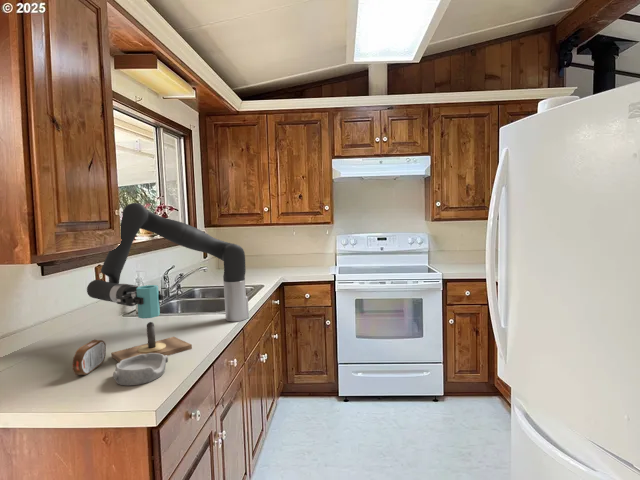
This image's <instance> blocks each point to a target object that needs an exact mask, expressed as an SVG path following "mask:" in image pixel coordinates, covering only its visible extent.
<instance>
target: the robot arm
mask: <svg viewBox="0 0 640 480" xmlns="http://www.w3.org/2000/svg"><path fill="white" fill-rule="evenodd" d="M121 213H122V215H121V221H120V226H121V239H122V241H121V244H120V245H119V246H118V247H117V248H116V249H114V250H112V251H108V252H107V255H106V257H105V260H104V261H103V264H102V266H101V269H100V272H101V273H102V274H103V275H104V276H107V277H108V281H104V280H101V279H94V280H91V282H89V283H88V285H87V288H86V293H87V295H88V296H89V297H90V298H93V299H96V300H101V301H106V302H109V303H110V302H111V303H115V304H117V305H122V306H126V307H134V306H137V304H140V305H142V304H144V301H143V298H141V297H137V290H136V288H138V287H139V286H138V285H135V284H129V283H128V284H127V283H120V280H121V279H120V278H121V274H122V271H123V269H124V266H125V264H126V262H127V259H128V257H129V254H130V251H131V248H132V245H133V242H134V240H135V238H136V236H137V234H138V233H139V231H140V229H141V230H144V231H147V232H150V233H152V234H153V233H154V234H156V235H158V236H159V237H162V238H164V239H165V240H167V241H170V242H171V243H174V244H176V245H178V246H181V247H184V248H186V249H189V250H192V251H196V252H200V253H201V252H202V253H205V254H209V255H211V256H213V257H215V258H216V259H219V260H220V261H222V262H223V276H222V277H223V295H224V297H223V298H224V310H225V321H228V322H240V321H245V320H246V319H248V318H249V319H250V313H249V296H247V294H246V293H247V291H246V277H245V276H246V272H247V271H246V254H245V249H244V248H243V247H242V246H240V245H239V244H237V243H236V244H235V243H231V242H227V241H224V240H220V239H217V238H215V237H214V236H212V235H210V234H208V233H206V232H205V231H203V230H201V229H199V228H197V227H195V226H192V225H190V224H187V223H185V222H182V221H179V220H175V219H171V218H166V217H163V216H160V215H158V214H155V213H154V212H152V211H150V210H148V209H147V208H146V207H145V206H144V205H143V204H141V203H139V202H132V203H129V204H127V205H126V206H125V207H124V209H122V212H121ZM120 226H119V227H120ZM158 292H159V301H162V300H163V298H164V297H163V296H164V295H163V294H162V293H161V290H158Z"/></svg>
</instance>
